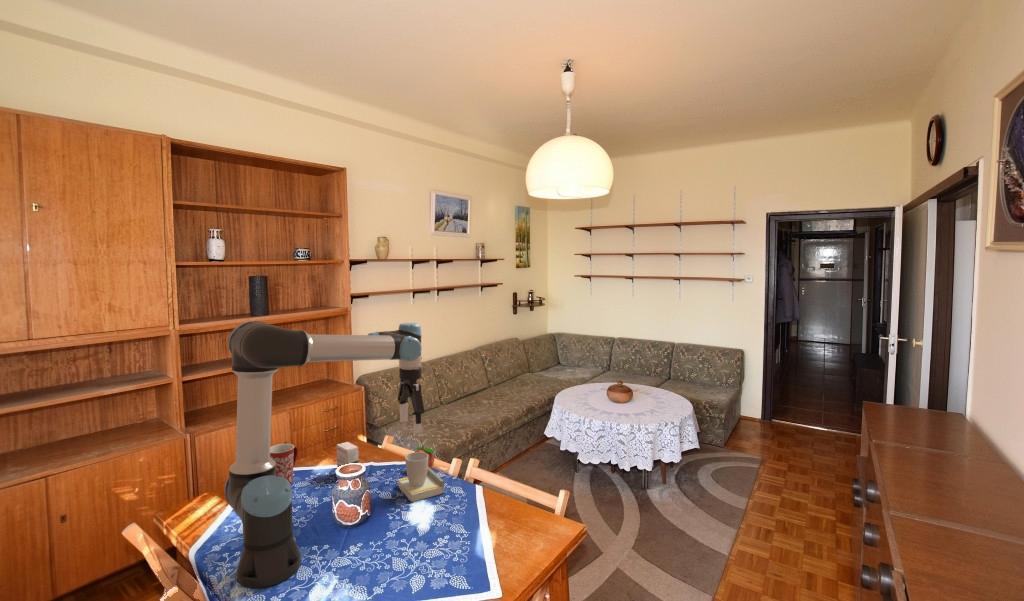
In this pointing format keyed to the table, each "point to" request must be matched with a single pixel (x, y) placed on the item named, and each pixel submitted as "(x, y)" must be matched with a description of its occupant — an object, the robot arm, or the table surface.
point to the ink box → (347, 454)
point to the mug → (284, 460)
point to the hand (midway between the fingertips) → (410, 426)
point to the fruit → (430, 454)
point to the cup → (416, 468)
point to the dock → (422, 487)
